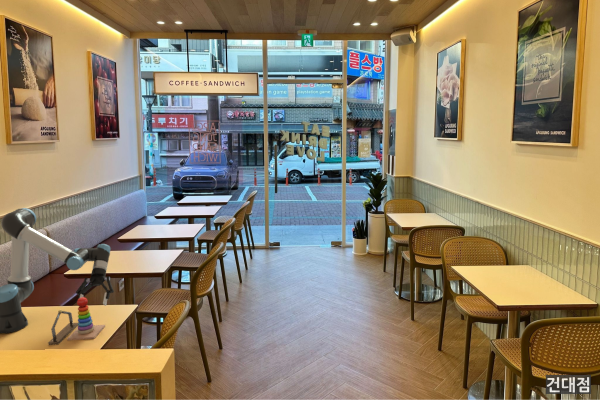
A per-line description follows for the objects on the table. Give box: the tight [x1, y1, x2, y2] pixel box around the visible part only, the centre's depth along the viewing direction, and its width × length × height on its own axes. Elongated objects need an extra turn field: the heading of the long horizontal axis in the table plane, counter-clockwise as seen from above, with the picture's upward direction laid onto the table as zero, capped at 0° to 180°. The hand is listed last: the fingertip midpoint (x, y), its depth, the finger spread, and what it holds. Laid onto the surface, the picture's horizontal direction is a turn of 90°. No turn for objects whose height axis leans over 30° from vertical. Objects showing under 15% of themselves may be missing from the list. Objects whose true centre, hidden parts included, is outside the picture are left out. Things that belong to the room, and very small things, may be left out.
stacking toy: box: [76, 297, 94, 334], centre depth 244 cm, size 8×8×19 cm
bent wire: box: [47, 309, 78, 346], centre depth 244 cm, size 22×5×14 cm, turn 1°
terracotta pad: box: [66, 324, 106, 341], centre depth 246 cm, size 14×14×1 cm
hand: (92, 305), depth 254 cm, fingers open, 13 cm apart
